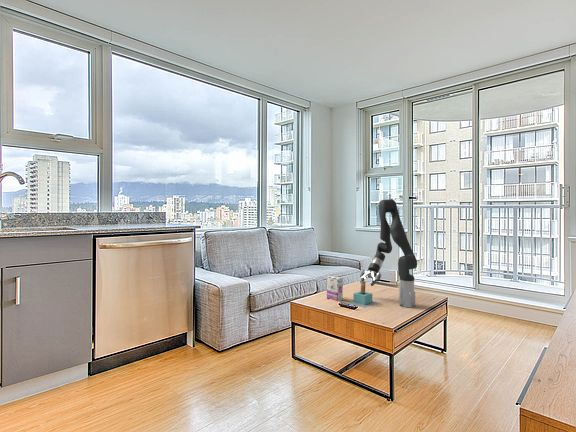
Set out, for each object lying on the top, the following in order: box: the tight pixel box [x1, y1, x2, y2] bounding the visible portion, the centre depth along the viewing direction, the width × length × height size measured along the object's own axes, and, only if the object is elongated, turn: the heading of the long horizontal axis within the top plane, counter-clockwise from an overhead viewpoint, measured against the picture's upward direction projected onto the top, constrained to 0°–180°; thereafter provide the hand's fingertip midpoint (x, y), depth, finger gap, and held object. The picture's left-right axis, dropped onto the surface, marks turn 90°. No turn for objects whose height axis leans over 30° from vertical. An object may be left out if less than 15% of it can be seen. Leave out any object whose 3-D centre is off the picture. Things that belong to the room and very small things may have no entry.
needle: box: [360, 280, 366, 295], centre depth 226 cm, size 3×3×14 cm
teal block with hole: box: [352, 290, 373, 305], centre depth 227 cm, size 9×9×6 cm
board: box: [348, 300, 379, 308], centre depth 225 cm, size 14×16×1 cm
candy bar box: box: [326, 275, 344, 302], centre depth 234 cm, size 11×5×16 cm, turn 37°
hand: (366, 284), depth 231 cm, fingers open, 8 cm apart
